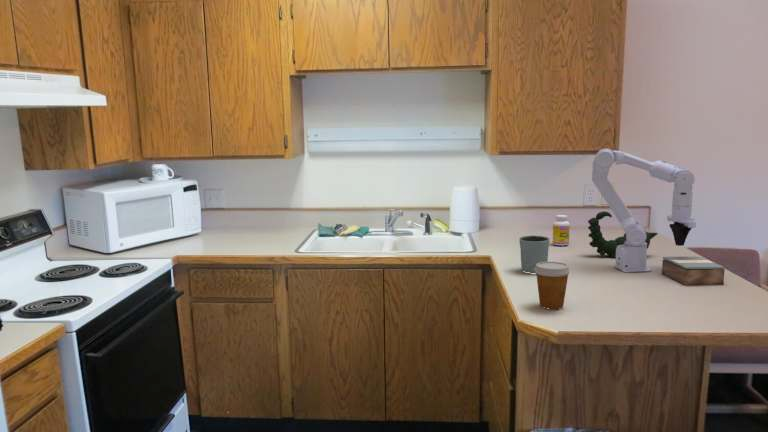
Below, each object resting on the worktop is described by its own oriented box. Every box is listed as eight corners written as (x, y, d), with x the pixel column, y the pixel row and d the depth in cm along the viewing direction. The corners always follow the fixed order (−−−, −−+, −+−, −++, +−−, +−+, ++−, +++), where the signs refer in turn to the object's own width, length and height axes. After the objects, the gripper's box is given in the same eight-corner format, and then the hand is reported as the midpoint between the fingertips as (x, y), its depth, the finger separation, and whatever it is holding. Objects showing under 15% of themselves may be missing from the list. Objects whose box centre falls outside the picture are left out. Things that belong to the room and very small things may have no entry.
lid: (686, 269, 166) (686, 266, 166) (662, 258, 180) (662, 256, 180) (724, 268, 166) (724, 266, 166) (698, 258, 180) (698, 256, 180)
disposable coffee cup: (562, 300, 157) (562, 260, 155) (574, 311, 147) (575, 268, 145) (529, 301, 156) (530, 261, 154) (540, 312, 147) (540, 270, 145)
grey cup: (548, 268, 192) (549, 235, 191) (549, 276, 183) (549, 241, 181) (519, 267, 195) (519, 235, 193) (518, 274, 186) (519, 240, 184)
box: (685, 285, 167) (685, 270, 166) (661, 273, 181) (662, 259, 180) (723, 284, 167) (724, 269, 166) (697, 272, 181) (698, 258, 180)
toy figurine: (595, 264, 203) (663, 257, 201) (591, 214, 201) (661, 207, 198) (587, 258, 213) (653, 251, 210) (584, 211, 210) (651, 204, 207)
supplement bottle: (558, 247, 225) (559, 217, 223) (549, 244, 232) (550, 215, 230) (572, 246, 227) (573, 216, 225) (563, 243, 233) (563, 214, 231)
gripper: (706, 208, 172) (703, 249, 174) (682, 202, 186) (680, 240, 188) (684, 208, 172) (681, 250, 174) (662, 202, 186) (660, 241, 188)
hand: (679, 245), depth 181 cm, fingers closed
